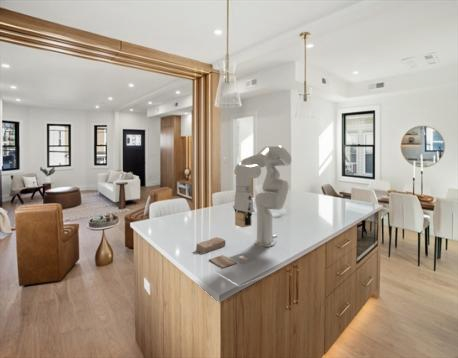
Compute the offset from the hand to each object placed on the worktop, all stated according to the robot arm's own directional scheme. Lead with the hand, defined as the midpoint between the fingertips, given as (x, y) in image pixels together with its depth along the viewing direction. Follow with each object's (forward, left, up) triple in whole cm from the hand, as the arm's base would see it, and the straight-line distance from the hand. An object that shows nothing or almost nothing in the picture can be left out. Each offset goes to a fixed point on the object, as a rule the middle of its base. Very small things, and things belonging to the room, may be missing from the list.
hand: (243, 223), depth 134 cm
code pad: (0, 0, -19) cm, 19 cm away
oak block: (0, 0, -1) cm, 1 cm away
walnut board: (+12, -3, -19) cm, 23 cm away
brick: (+5, -23, -20) cm, 31 cm away
